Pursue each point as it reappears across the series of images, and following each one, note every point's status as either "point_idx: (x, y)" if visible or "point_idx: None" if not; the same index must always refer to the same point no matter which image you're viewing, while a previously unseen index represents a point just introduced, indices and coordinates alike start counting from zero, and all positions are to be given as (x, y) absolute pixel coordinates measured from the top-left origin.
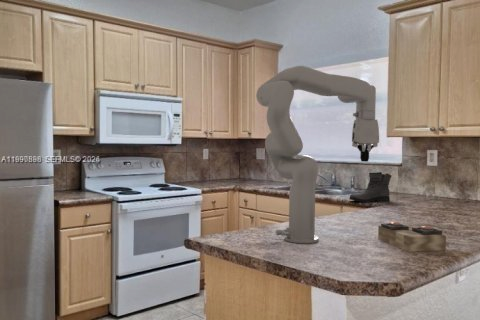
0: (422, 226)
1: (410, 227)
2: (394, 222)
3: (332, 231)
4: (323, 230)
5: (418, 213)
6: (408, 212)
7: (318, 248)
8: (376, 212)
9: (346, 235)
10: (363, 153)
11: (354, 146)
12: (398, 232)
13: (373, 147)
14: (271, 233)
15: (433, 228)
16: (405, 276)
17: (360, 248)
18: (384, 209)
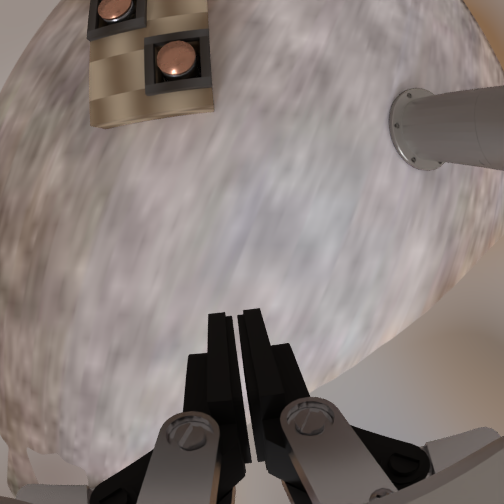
0: (121, 9)
1: (118, 78)
2: (172, 65)
3: (313, 227)
4: (333, 243)
5: (26, 421)
6: (43, 433)
7: (403, 48)
8: (106, 448)
9: (293, 166)
10: (286, 394)
11: (476, 429)
12: (202, 7)
13: (89, 489)
14: (454, 214)
15: (89, 21)
16: None
17: (313, 21)
18: (86, 464)
